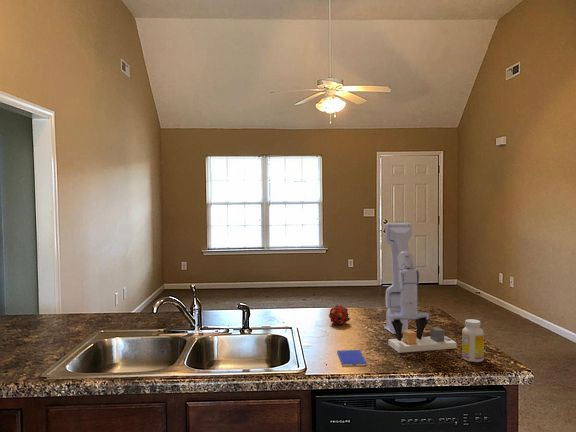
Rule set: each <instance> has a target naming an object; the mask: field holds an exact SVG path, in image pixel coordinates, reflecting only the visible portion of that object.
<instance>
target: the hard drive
mask: <svg viewBox="0 0 576 432" xmlns="http://www.w3.org/2000/svg"><path fill="white" fill-rule="evenodd" d="M336 355H337V357H338V360H339V363H340V365H341V366H342V367H362V366H365V365H366V366H368V362H367V361H366V359H365V357H364V355H363V353H362V352H361V350H360V349H349V350H347V349H346V350H345V349H344V350H341V349H340V350H336Z"/></svg>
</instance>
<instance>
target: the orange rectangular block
mask: <svg viewBox="0 0 576 432" xmlns="http://www.w3.org/2000/svg"><path fill="white" fill-rule="evenodd" d="M416 337H417V331H414V330H412V329H409V328H408V330H403V333H402V338H403V342H404V343H405V344H407V345H412V344H416Z"/></svg>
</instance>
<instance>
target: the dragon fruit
mask: <svg viewBox="0 0 576 432" xmlns="http://www.w3.org/2000/svg"><path fill="white" fill-rule="evenodd" d="M348 311H349V309H348V308H346V307H345V306H344V305H339V304H338V305H335V306H334V307H331V309H330V310H329V314H328V317H329V319H330V323H333V324H334V326H336V327H337V326H340V325H345V324H346V323H347V322H350V320H351V318H350V317H349V315H350V314H349V312H348Z"/></svg>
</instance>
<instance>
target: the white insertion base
mask: <svg viewBox="0 0 576 432" xmlns="http://www.w3.org/2000/svg"><path fill="white" fill-rule="evenodd" d="M429 329H430V332H429V333H430V335H429V336H422V338H421V340H419V339H418V338H417V336H416V344H412V345H407V344H405V343H404V342H403V337H402V340H401V341H399V340H397V338H391V339H390V338H389V339H388V346H389V347H390V348H392V349H393V350H395V351H396V352H398V354H400V353H401V354H402V353H413V352H414V353H415V352H426V351H439V350H450V349H458V347H457V343H458V342H456V341H454V340H453V339H451V338H450V337H448V336H447V335H445V330H444V329H442V328H440V327H438V326H434V327H433V326H432V327H430V328H429Z"/></svg>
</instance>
